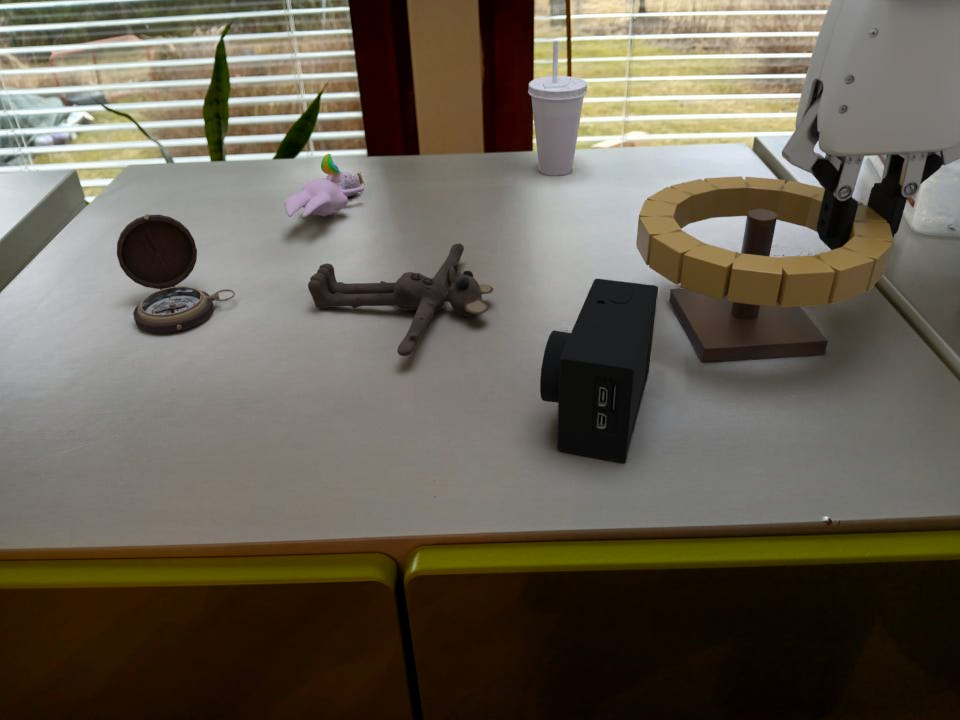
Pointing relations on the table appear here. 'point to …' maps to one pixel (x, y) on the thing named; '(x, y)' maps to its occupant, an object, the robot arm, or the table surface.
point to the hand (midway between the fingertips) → (853, 242)
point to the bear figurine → (406, 294)
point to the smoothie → (556, 118)
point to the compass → (163, 273)
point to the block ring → (756, 274)
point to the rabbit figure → (325, 191)
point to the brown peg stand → (746, 314)
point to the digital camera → (601, 369)
